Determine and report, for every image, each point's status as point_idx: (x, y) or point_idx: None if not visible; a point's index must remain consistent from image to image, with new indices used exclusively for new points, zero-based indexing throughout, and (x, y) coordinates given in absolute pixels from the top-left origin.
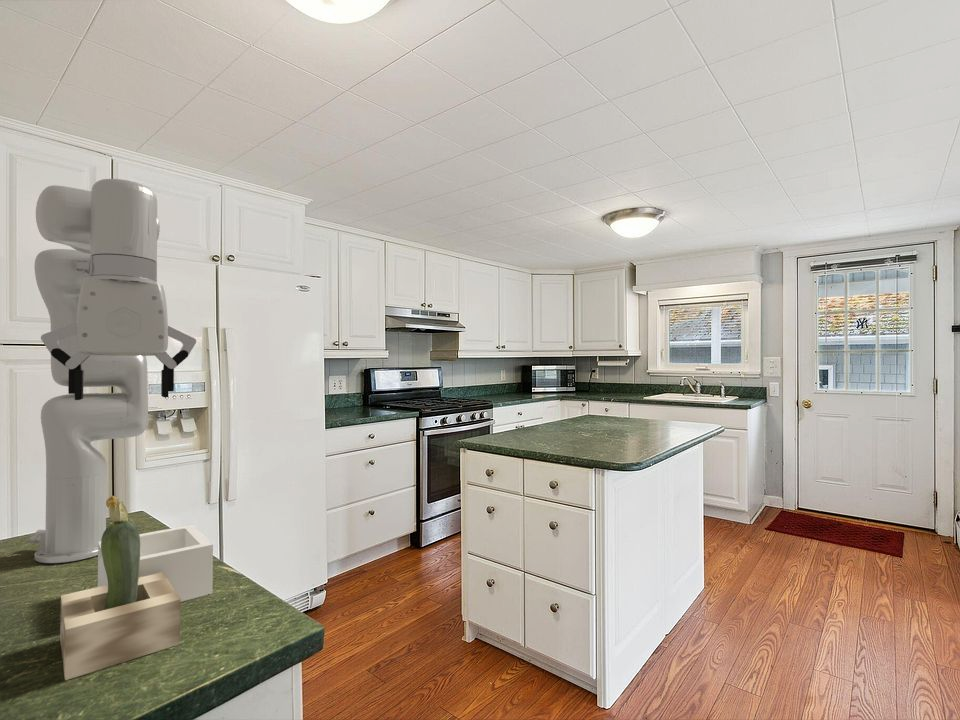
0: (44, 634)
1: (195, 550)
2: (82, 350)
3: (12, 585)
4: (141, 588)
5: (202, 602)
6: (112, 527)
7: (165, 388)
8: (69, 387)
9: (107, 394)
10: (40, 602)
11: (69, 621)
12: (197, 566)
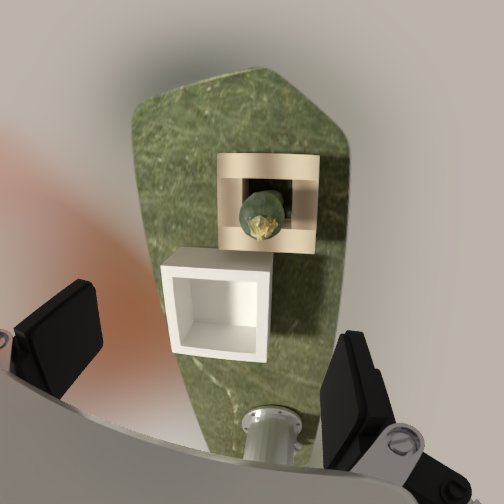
0: (320, 262)
1: (179, 265)
2: (394, 485)
3: None
4: None
5: (192, 232)
6: (271, 213)
7: (70, 293)
8: (379, 377)
9: None
10: (313, 336)
11: (315, 173)
12: (184, 258)
